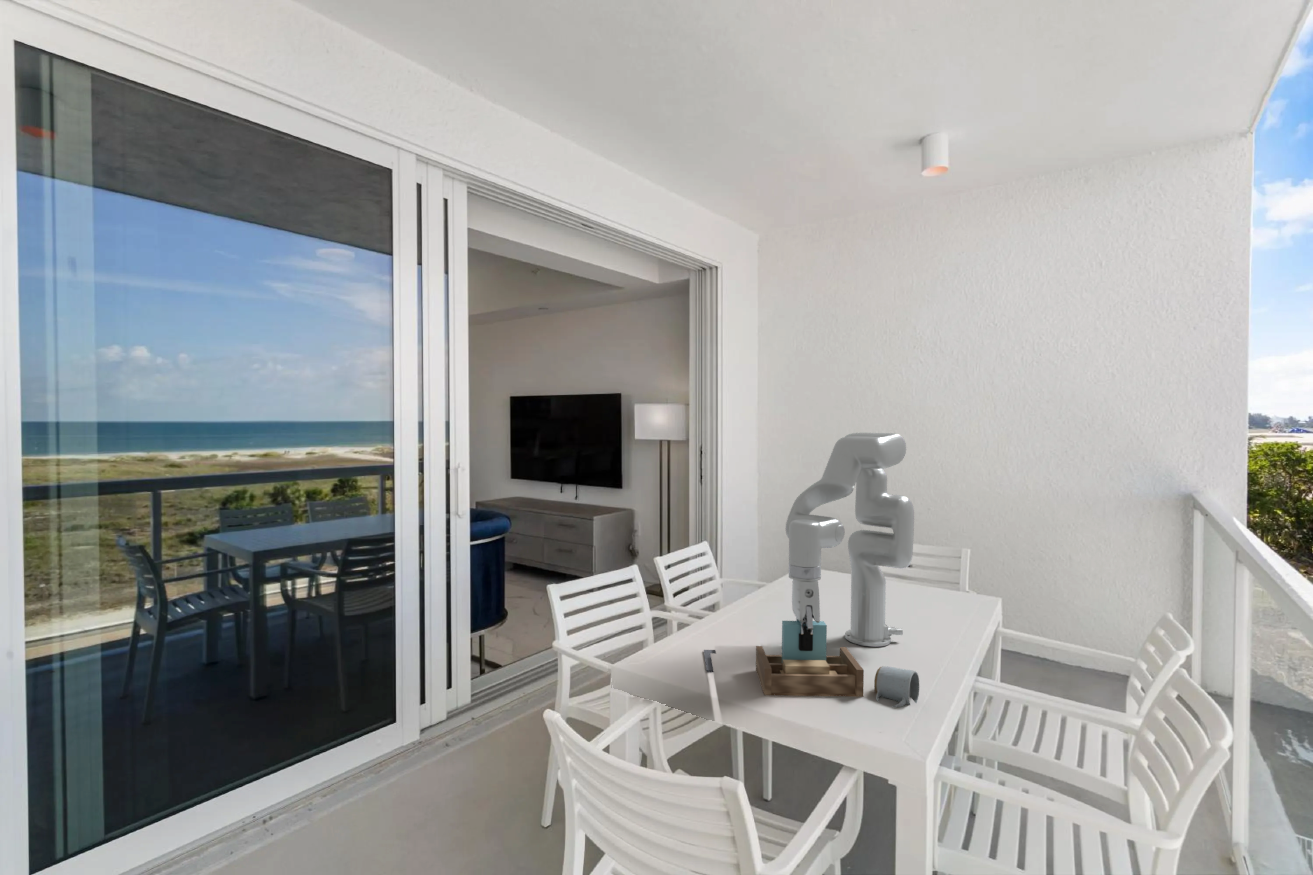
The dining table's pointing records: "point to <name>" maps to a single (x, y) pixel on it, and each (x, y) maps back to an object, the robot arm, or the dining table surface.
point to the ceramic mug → (897, 684)
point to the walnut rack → (811, 677)
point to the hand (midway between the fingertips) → (804, 646)
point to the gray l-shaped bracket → (709, 660)
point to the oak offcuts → (806, 667)
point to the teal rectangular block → (792, 641)
